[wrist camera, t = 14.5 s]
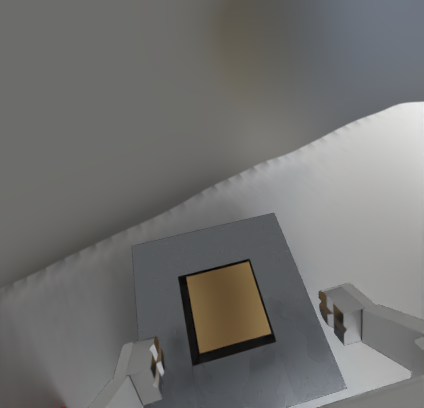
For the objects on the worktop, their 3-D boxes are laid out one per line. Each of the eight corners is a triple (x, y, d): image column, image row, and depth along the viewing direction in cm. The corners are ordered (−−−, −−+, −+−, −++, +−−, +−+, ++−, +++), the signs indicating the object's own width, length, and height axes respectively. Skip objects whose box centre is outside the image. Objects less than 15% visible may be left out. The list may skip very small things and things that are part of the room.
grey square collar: (263, 233, 23) (274, 212, 19) (314, 371, 18) (346, 388, 13) (149, 260, 22) (131, 245, 18) (165, 416, 17) (146, 452, 12)
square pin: (238, 281, 21) (248, 261, 14) (251, 328, 19) (271, 333, 12) (197, 291, 21) (186, 277, 14) (206, 340, 19) (199, 353, 12)
